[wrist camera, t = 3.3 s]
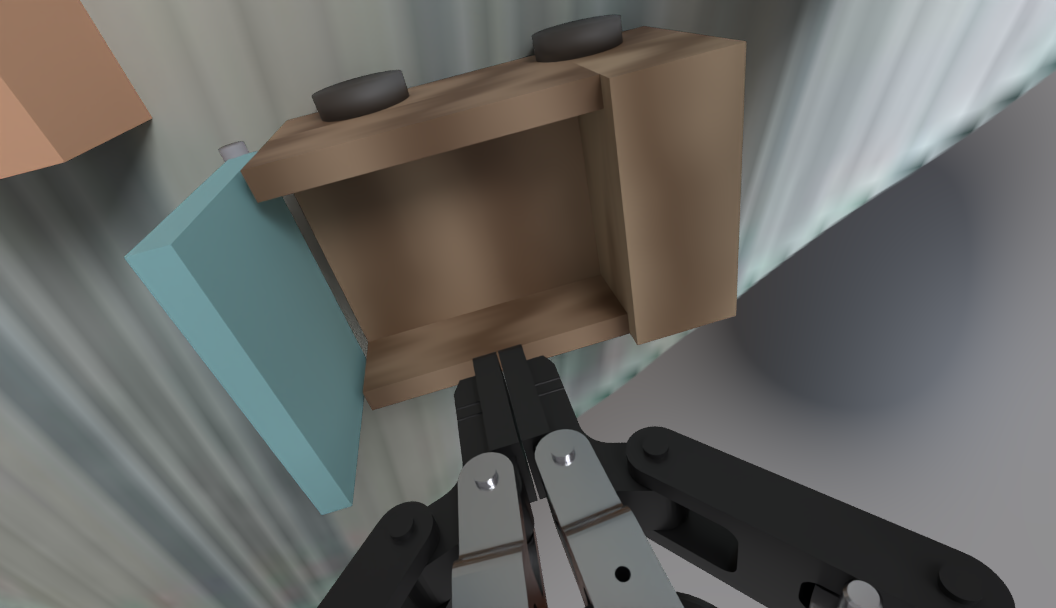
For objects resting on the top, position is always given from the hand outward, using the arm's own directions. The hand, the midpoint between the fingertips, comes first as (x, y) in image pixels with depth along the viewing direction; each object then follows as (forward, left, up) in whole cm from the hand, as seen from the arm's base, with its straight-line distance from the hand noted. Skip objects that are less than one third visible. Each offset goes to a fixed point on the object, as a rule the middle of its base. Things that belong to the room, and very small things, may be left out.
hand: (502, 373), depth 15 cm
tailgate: (+8, 0, -11) cm, 14 cm away
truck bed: (-2, 0, -15) cm, 15 cm away
